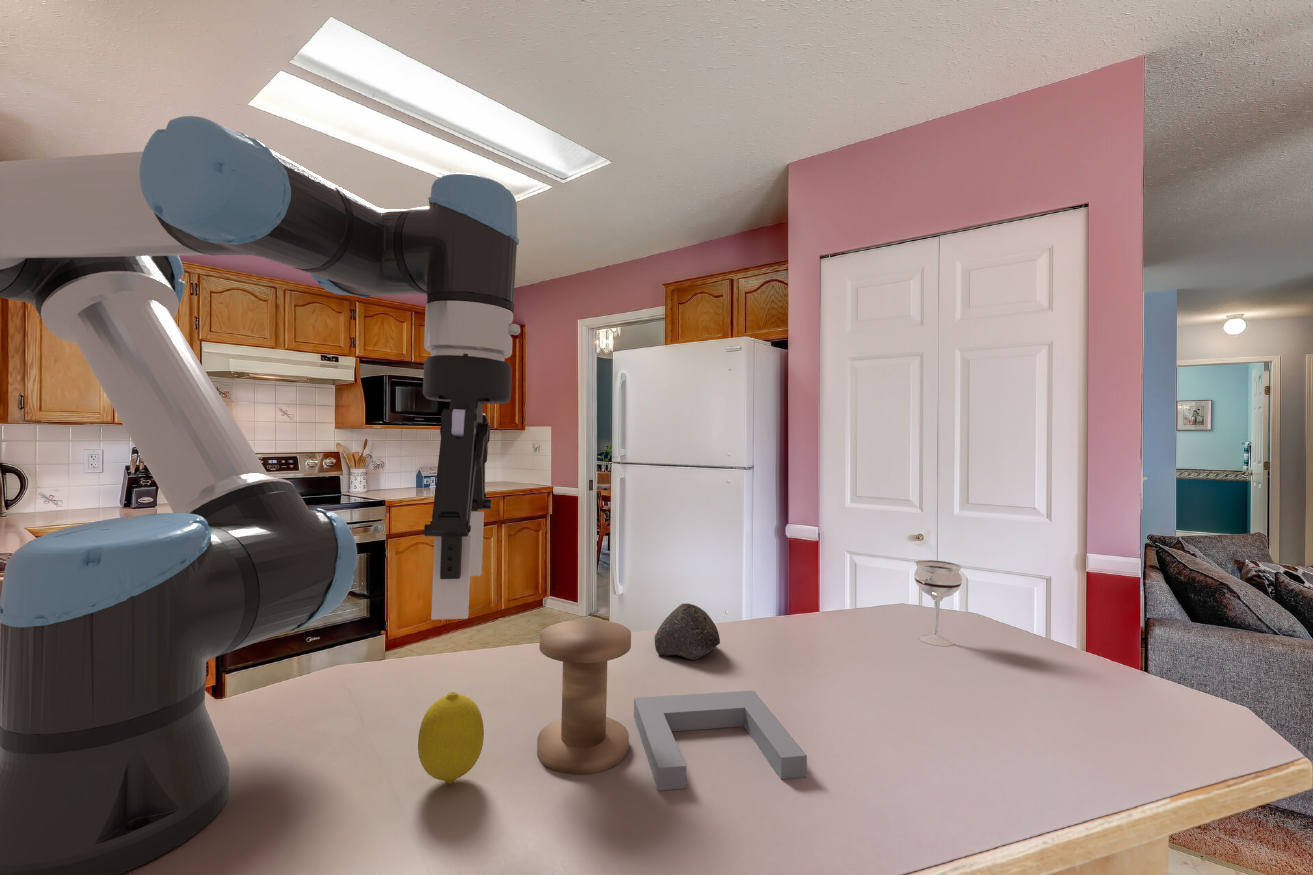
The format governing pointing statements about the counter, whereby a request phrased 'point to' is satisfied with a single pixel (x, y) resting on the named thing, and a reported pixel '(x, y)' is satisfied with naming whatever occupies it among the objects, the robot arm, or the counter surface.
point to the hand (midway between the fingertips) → (459, 594)
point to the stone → (687, 633)
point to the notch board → (707, 713)
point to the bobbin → (584, 697)
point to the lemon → (450, 737)
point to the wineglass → (937, 589)
